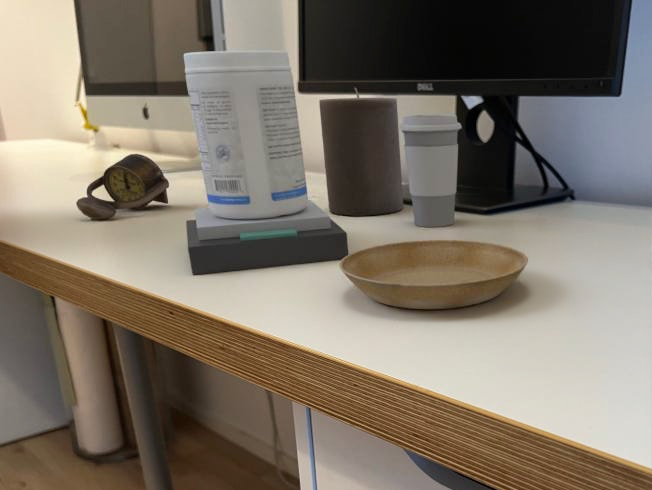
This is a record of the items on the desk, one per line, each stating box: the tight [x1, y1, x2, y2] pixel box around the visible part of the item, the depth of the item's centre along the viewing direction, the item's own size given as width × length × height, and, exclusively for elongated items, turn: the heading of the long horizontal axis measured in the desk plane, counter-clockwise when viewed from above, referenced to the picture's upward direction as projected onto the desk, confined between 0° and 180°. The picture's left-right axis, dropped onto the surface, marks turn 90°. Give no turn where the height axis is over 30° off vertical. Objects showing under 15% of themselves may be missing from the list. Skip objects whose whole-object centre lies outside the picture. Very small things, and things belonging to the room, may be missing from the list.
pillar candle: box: [318, 87, 404, 217], centre depth 89 cm, size 10×10×15 cm
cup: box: [398, 113, 463, 228], centre depth 80 cm, size 7×7×12 cm
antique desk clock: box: [75, 153, 170, 220], centre depth 92 cm, size 7×13×10 cm
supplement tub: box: [183, 49, 309, 219], centre depth 67 cm, size 10×10×15 cm
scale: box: [185, 199, 350, 276], centre depth 69 cm, size 14×14×4 cm
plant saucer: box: [338, 239, 529, 310], centre depth 55 cm, size 15×15×3 cm
